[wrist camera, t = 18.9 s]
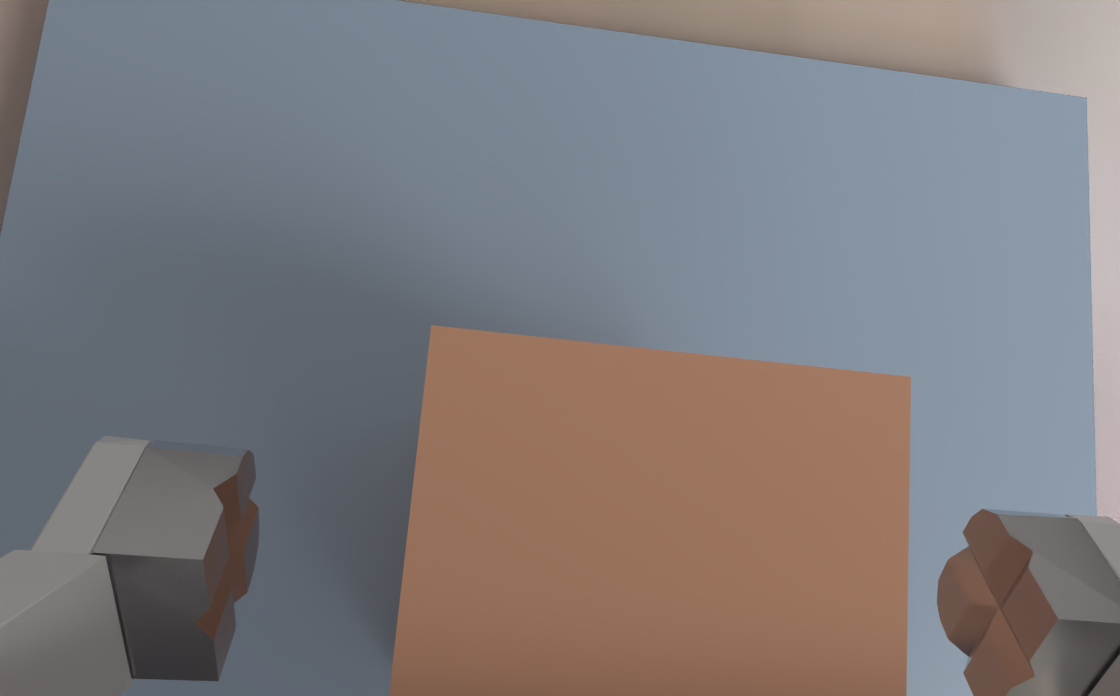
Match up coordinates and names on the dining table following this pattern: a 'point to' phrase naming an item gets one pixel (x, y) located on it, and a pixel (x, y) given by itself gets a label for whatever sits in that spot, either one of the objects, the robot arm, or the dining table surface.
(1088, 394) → the blue-grey baseplate
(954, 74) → the dining table surface
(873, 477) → the terracotta brick
